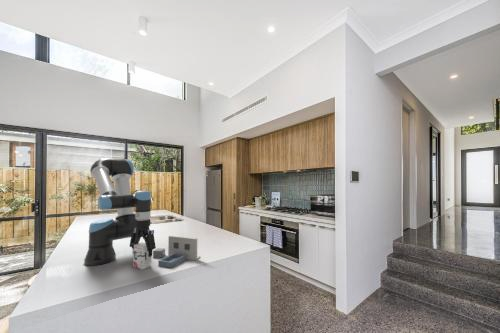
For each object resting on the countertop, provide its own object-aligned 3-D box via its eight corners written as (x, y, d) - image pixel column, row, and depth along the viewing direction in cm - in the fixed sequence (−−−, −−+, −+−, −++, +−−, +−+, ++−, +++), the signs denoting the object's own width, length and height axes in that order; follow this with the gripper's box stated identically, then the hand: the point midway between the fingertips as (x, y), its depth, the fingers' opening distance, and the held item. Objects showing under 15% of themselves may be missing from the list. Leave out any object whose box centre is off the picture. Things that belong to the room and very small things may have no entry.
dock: (158, 265, 119) (158, 260, 119) (174, 258, 131) (174, 253, 131) (170, 268, 116) (170, 262, 116) (186, 259, 127) (186, 254, 128)
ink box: (132, 266, 118) (133, 244, 119) (141, 263, 122) (141, 242, 123) (142, 269, 114) (143, 246, 115) (151, 266, 118) (151, 244, 119)
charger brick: (153, 257, 132) (153, 250, 132) (157, 254, 137) (157, 248, 137) (161, 257, 131) (161, 251, 132) (165, 255, 136) (166, 248, 137)
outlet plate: (167, 256, 133) (167, 236, 134) (173, 253, 138) (173, 234, 139) (195, 260, 126) (195, 239, 127) (200, 257, 131) (200, 237, 132)
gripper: (122, 219, 120) (121, 261, 119) (152, 221, 112) (152, 266, 111) (134, 217, 127) (133, 256, 126) (163, 219, 119) (162, 261, 118)
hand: (142, 261), depth 118 cm, fingers closed on ink box, 9 cm apart
